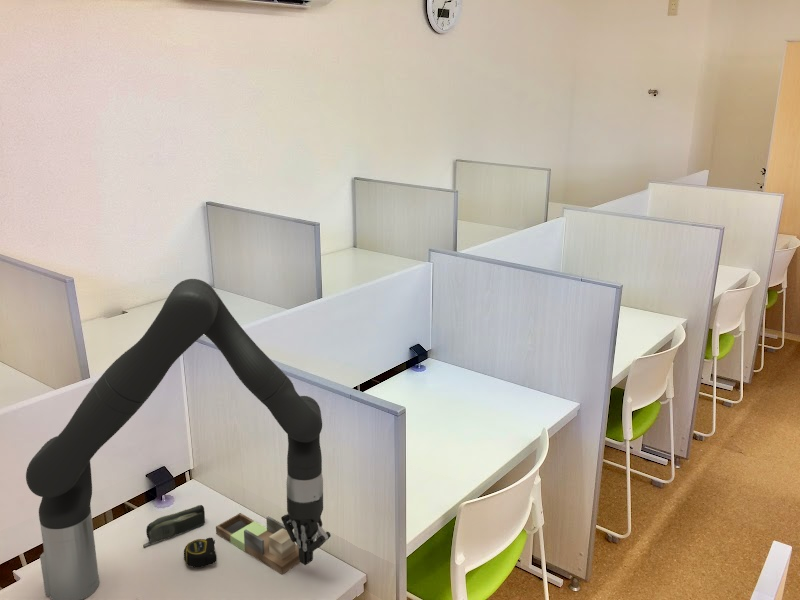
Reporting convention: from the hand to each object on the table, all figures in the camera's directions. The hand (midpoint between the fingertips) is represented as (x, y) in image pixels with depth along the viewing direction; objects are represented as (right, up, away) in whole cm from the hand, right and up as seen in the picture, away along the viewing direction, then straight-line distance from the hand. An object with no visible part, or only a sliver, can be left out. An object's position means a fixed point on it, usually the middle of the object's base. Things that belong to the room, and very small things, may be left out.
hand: (306, 562), depth 146 cm
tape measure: (-23, -2, +5) cm, 24 cm away
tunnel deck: (-12, 0, +10) cm, 15 cm away
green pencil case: (-33, +1, +13) cm, 35 cm away
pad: (-15, +1, +12) cm, 19 cm away
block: (-6, +1, +5) cm, 8 cm away
